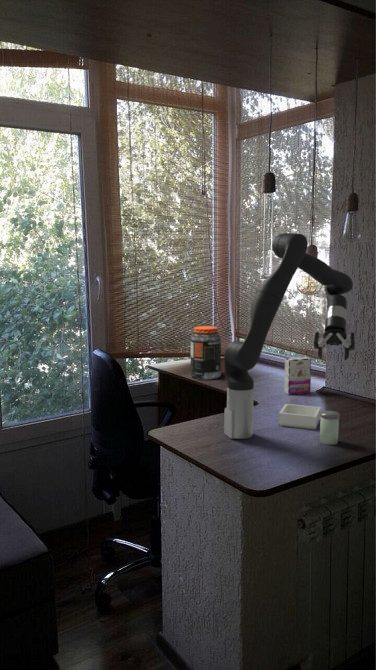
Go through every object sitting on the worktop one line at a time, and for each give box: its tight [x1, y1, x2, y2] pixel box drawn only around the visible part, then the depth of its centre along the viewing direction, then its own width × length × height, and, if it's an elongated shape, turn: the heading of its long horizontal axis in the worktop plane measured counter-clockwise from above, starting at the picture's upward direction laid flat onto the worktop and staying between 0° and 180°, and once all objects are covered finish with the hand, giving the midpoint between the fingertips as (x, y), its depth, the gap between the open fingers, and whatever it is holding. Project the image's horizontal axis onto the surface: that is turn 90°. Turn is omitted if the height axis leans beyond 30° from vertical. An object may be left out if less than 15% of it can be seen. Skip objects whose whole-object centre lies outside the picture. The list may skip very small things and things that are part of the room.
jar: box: [319, 410, 341, 446], centre depth 186 cm, size 6×6×10 cm
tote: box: [278, 403, 322, 431], centre depth 208 cm, size 14×14×5 cm
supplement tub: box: [189, 325, 222, 380], centre depth 283 cm, size 16×16×26 cm
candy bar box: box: [284, 356, 312, 396], centre depth 251 cm, size 11×5×16 cm, turn 105°
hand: (333, 358), depth 194 cm, fingers open, 8 cm apart
